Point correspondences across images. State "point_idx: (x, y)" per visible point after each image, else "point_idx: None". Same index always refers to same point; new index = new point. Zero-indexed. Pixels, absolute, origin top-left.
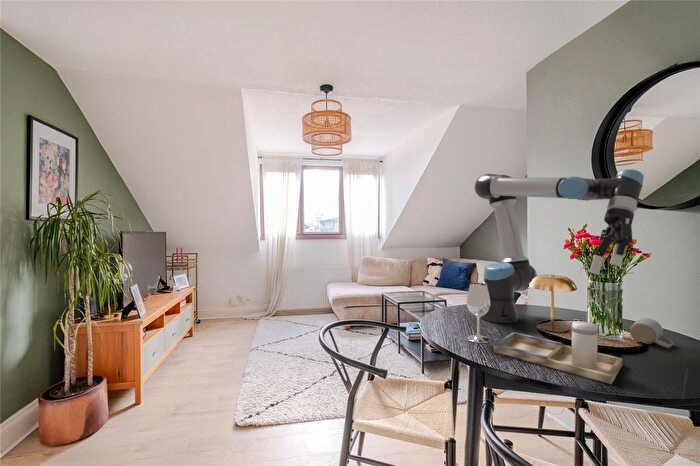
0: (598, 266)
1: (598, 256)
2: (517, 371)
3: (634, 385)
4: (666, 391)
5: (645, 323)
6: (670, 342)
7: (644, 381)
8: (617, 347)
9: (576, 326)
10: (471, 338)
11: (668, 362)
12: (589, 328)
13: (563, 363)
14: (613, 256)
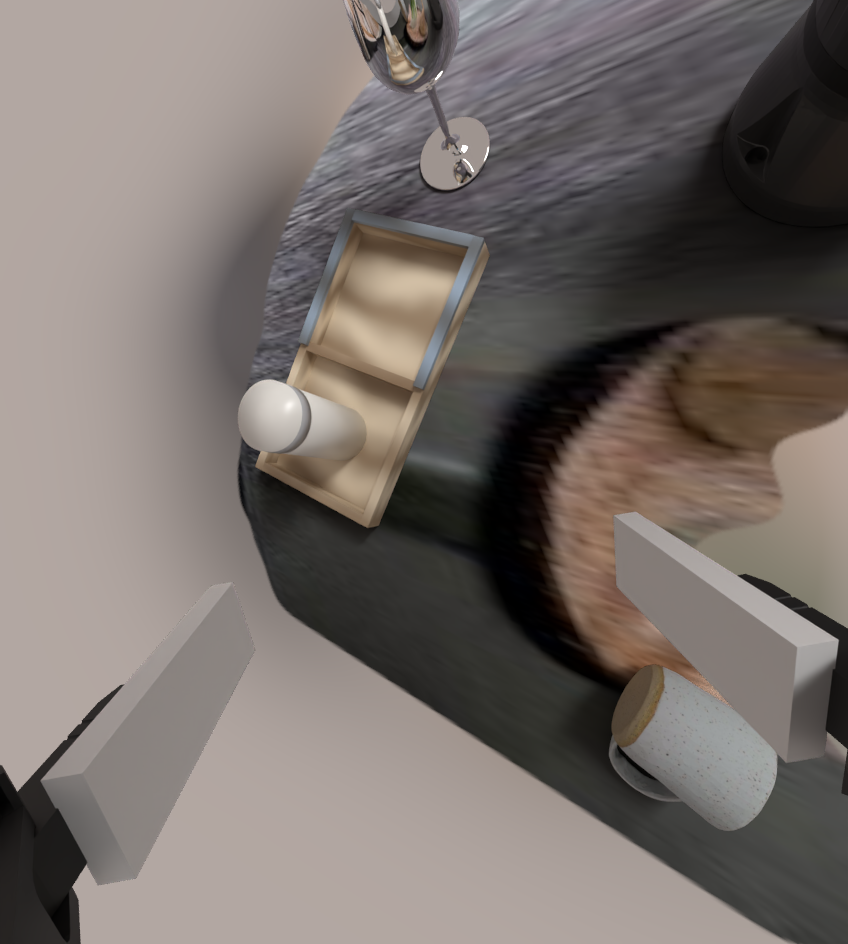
0: (663, 611)
1: (779, 684)
2: (277, 294)
3: (288, 514)
4: (282, 565)
5: (651, 742)
6: (647, 788)
7: (313, 543)
8: (548, 574)
9: (251, 390)
10: (441, 134)
11: (457, 666)
12: (239, 423)
13: (288, 380)
14: (175, 633)
